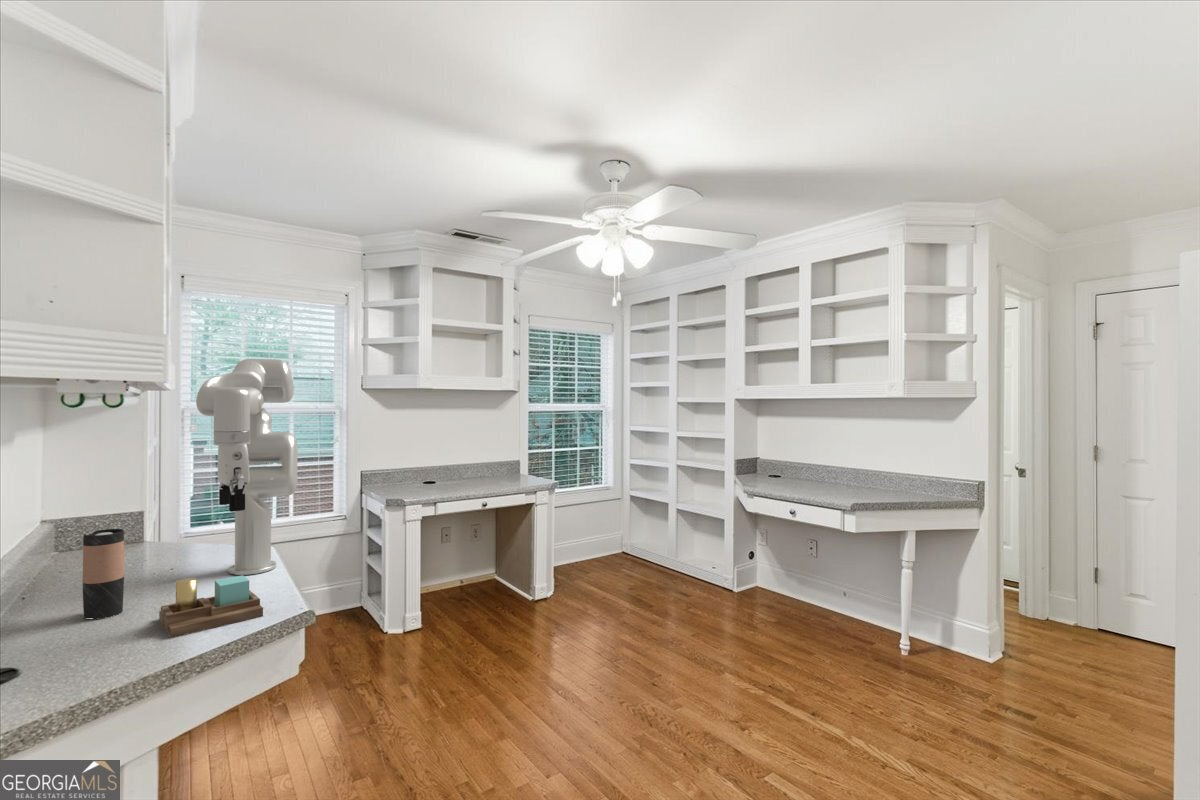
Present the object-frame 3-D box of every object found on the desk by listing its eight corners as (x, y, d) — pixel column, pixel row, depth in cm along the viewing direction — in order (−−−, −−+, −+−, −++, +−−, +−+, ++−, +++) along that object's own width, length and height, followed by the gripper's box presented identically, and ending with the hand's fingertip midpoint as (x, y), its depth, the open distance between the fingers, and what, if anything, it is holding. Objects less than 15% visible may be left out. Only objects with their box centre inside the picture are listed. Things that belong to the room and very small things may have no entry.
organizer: (158, 619, 135) (158, 602, 135) (245, 600, 148) (246, 585, 148) (169, 638, 124) (169, 619, 124) (262, 615, 137) (263, 599, 137)
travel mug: (125, 614, 138) (125, 532, 138) (83, 623, 133) (83, 537, 133) (122, 606, 143) (122, 527, 143) (81, 614, 138) (82, 532, 138)
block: (214, 604, 139) (214, 580, 139) (242, 598, 143) (242, 575, 143) (220, 611, 135) (220, 586, 135) (249, 605, 139) (249, 580, 139)
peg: (174, 614, 133) (174, 580, 133) (195, 610, 135) (195, 576, 135) (177, 619, 130) (177, 584, 130) (198, 614, 133) (198, 580, 133)
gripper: (259, 440, 136) (259, 511, 136) (240, 434, 148) (240, 500, 148) (222, 442, 130) (222, 515, 131) (205, 436, 143) (205, 504, 143)
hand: (232, 507), depth 140 cm, fingers open, 9 cm apart
